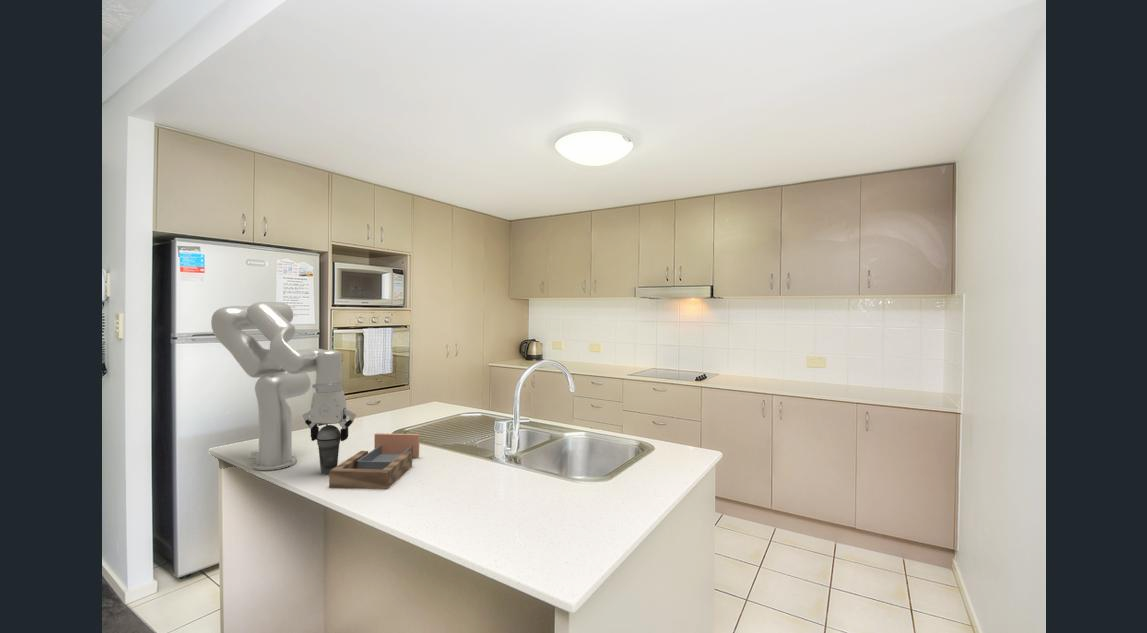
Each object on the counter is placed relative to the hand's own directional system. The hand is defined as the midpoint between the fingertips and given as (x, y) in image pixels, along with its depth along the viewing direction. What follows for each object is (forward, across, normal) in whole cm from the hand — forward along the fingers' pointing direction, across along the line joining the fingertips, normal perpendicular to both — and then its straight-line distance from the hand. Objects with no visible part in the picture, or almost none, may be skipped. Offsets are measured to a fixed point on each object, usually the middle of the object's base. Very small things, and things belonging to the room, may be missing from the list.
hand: (329, 439), depth 156 cm
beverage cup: (+11, 0, 0) cm, 11 cm away
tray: (+11, +16, +7) cm, 20 cm away
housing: (+11, +16, -3) cm, 19 cm away
